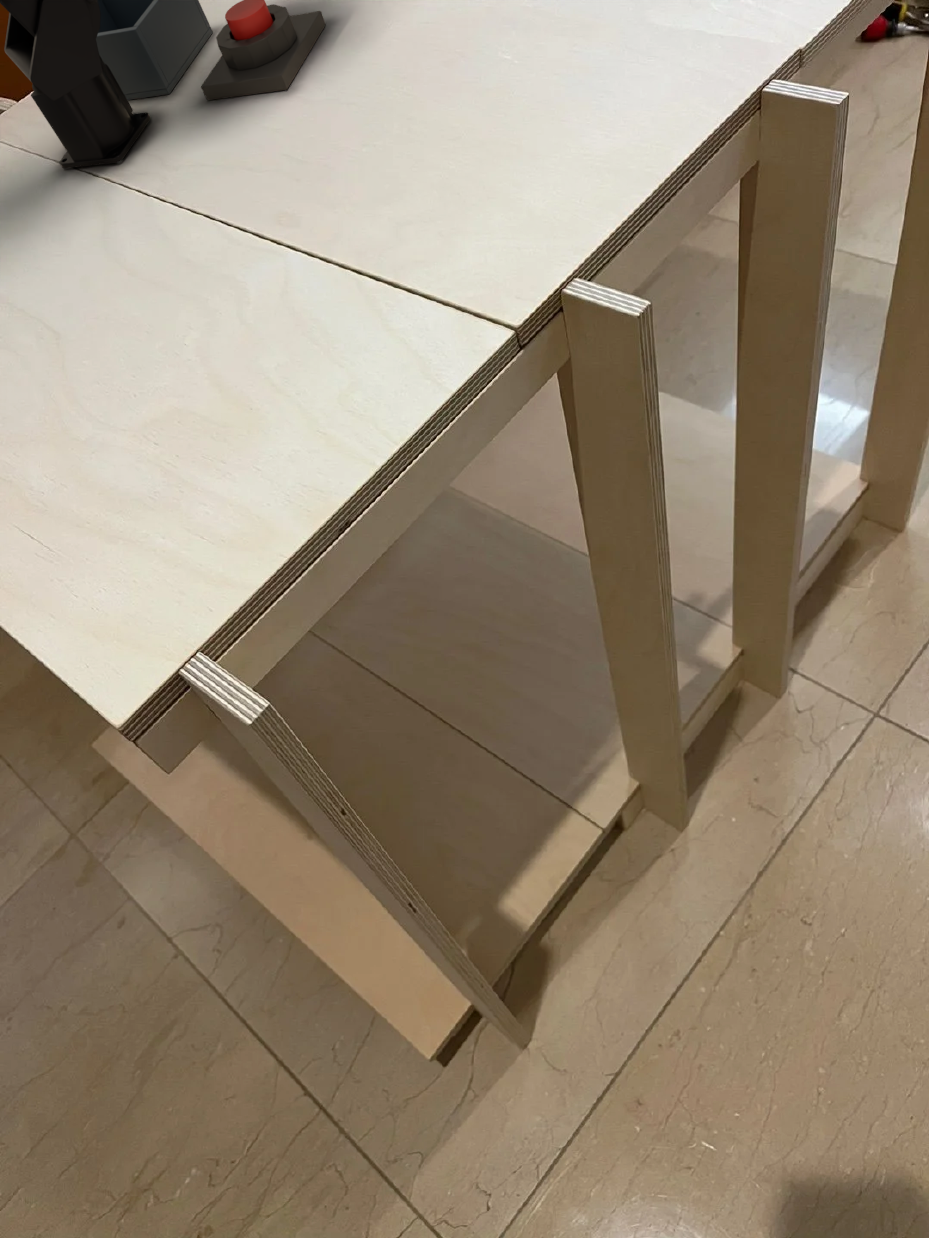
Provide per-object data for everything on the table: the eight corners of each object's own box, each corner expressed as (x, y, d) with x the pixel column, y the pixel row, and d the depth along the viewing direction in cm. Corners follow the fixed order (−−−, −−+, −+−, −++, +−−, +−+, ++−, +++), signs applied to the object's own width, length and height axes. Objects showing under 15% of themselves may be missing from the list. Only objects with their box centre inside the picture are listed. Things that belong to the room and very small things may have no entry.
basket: (169, 94, 80) (135, 29, 76) (79, 107, 84) (42, 45, 79) (213, 32, 85) (183, -33, 81) (126, 46, 89) (93, -15, 84)
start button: (264, 39, 75) (255, 17, 74) (228, 45, 76) (218, 23, 75) (279, 16, 77) (270, -6, 75) (243, 22, 78) (234, 0, 77)
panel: (287, 90, 75) (271, 53, 73) (207, 101, 78) (189, 65, 75) (326, 25, 80) (312, -13, 77) (249, 37, 82) (234, 1, 80)
